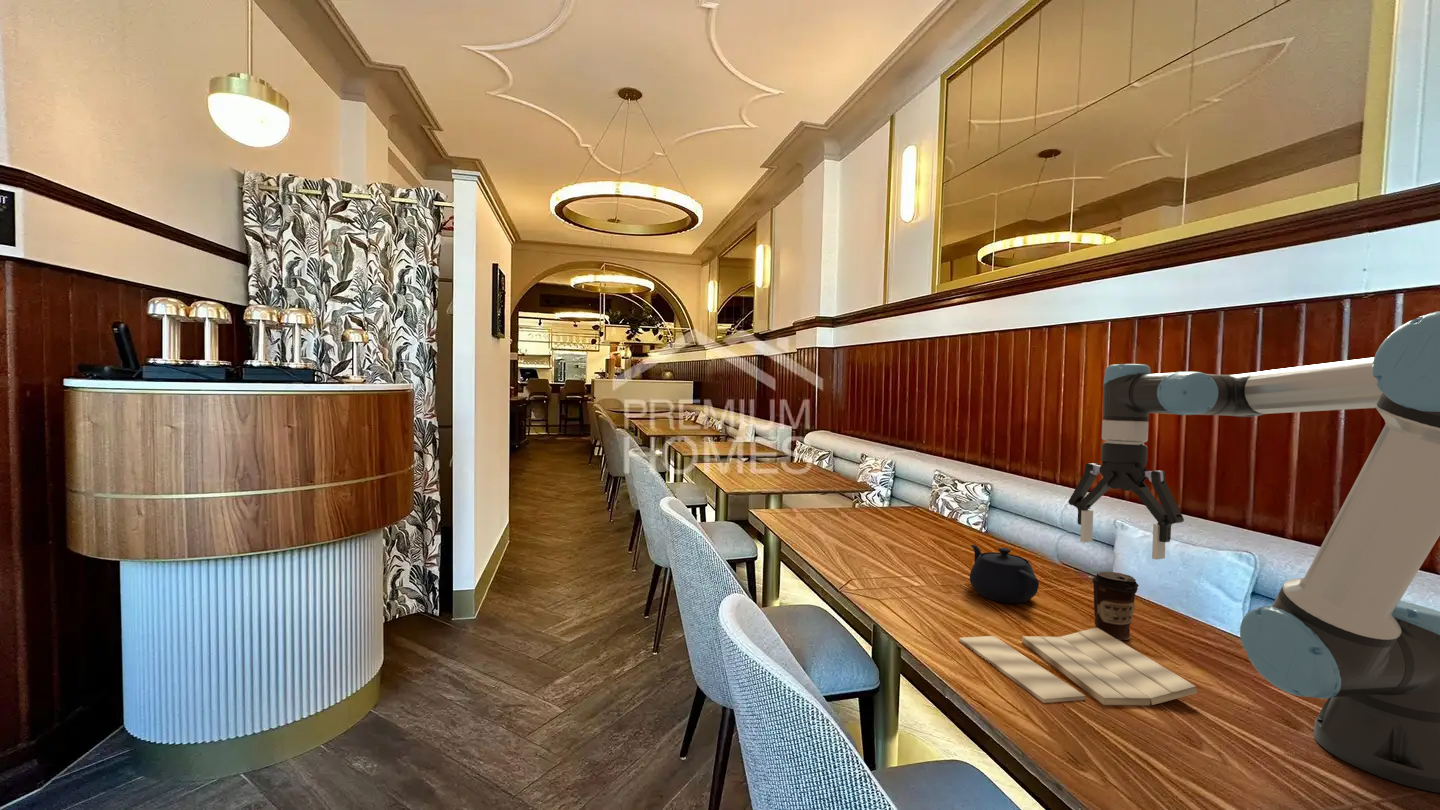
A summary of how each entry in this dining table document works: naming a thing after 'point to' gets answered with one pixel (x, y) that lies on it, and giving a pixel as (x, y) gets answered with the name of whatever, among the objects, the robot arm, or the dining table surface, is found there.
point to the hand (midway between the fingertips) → (1120, 549)
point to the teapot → (1003, 576)
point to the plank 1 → (1022, 670)
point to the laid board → (1086, 671)
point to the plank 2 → (1131, 666)
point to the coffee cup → (1114, 603)
